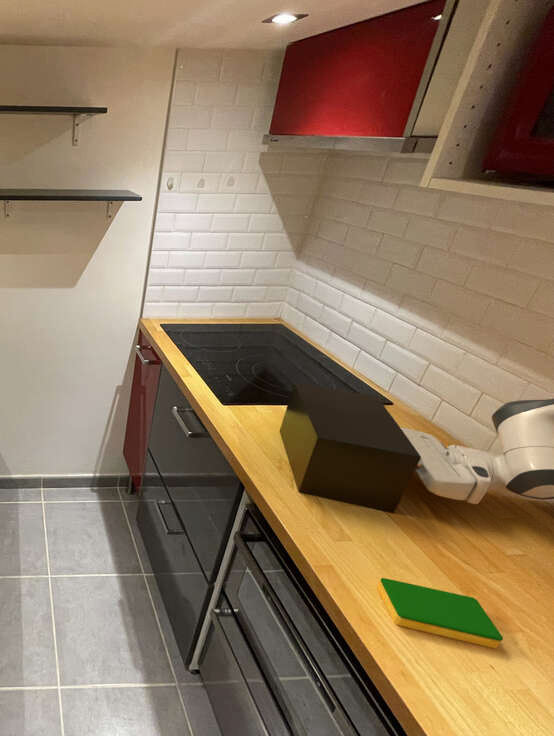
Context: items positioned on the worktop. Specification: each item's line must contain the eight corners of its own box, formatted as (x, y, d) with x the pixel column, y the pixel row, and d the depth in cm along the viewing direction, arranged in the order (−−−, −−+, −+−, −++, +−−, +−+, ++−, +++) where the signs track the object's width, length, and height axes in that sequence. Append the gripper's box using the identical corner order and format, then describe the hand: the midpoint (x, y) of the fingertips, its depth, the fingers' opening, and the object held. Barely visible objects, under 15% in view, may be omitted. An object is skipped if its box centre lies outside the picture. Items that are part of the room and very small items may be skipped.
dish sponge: (375, 586, 79) (380, 576, 78) (469, 607, 75) (475, 597, 74) (394, 624, 72) (400, 615, 71) (498, 649, 69) (505, 639, 68)
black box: (365, 447, 114) (386, 397, 108) (404, 515, 93) (433, 459, 87) (279, 431, 120) (294, 382, 114) (298, 492, 99) (317, 437, 93)
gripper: (443, 428, 105) (374, 415, 109) (495, 486, 87) (411, 469, 91) (432, 449, 107) (365, 437, 111) (481, 510, 90) (400, 493, 94)
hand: (386, 452), depth 101 cm, fingers closed, pressing on black box
